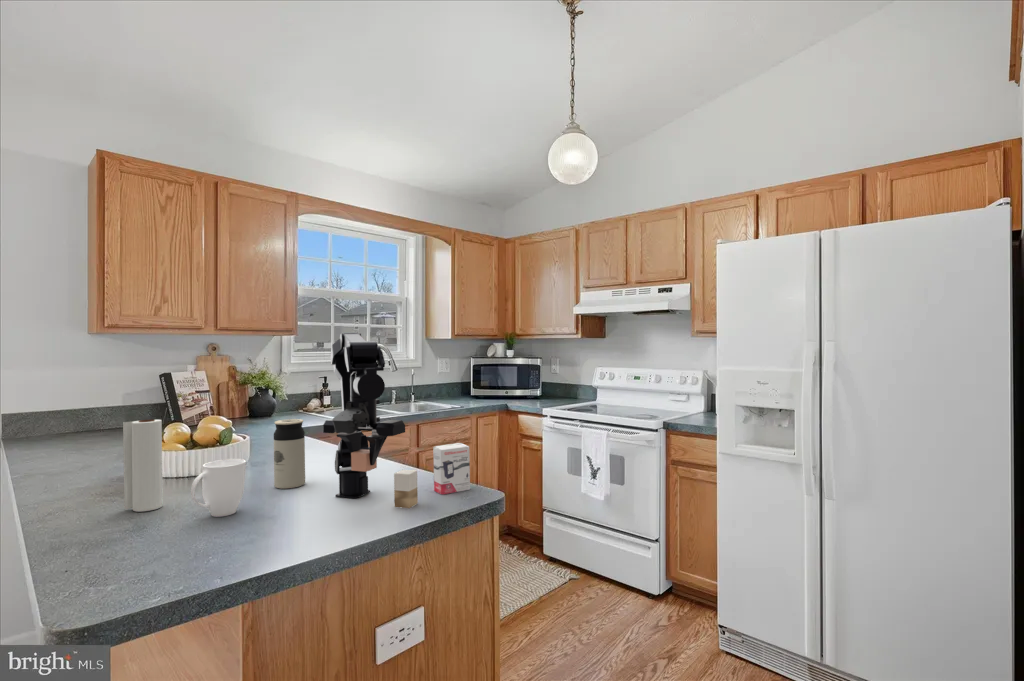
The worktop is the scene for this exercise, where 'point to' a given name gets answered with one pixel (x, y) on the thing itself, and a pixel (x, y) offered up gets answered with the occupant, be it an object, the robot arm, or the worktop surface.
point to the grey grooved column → (142, 465)
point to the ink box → (451, 468)
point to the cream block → (405, 480)
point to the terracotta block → (361, 461)
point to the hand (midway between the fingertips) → (364, 464)
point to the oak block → (405, 498)
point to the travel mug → (289, 454)
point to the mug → (221, 486)
